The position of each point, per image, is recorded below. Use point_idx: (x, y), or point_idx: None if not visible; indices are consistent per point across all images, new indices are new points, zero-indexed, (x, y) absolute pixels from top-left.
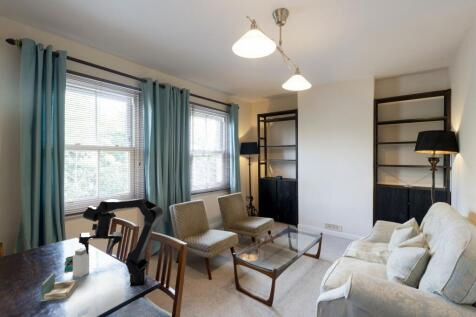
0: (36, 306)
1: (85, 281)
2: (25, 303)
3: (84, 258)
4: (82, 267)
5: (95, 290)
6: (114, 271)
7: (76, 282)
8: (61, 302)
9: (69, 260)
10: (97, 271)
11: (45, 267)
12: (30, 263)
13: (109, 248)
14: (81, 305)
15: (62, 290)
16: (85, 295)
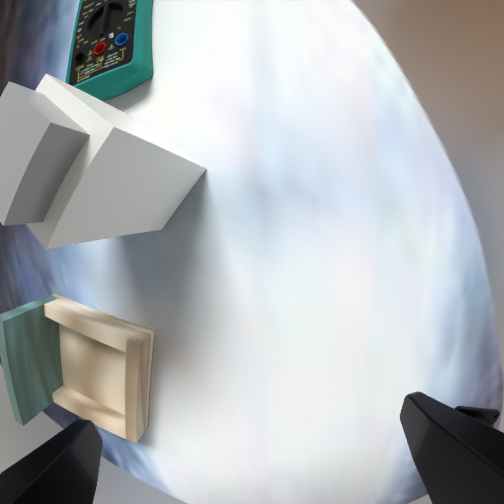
0: (62, 408)
1: (196, 311)
2: None
3: (102, 205)
4: (134, 224)
5: (264, 437)
6: (391, 250)
7: (144, 346)
8: None
9: (89, 10)
10: (267, 183)
11: (26, 47)
12: (6, 16)
13: (435, 495)
14: (216, 494)
15: (101, 364)
16: (219, 451)
